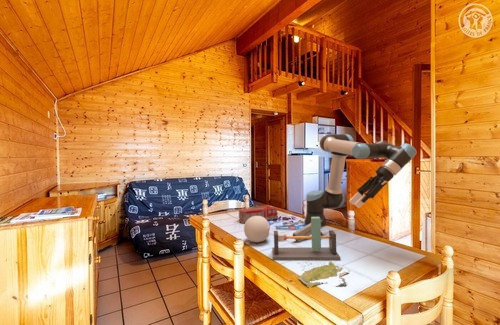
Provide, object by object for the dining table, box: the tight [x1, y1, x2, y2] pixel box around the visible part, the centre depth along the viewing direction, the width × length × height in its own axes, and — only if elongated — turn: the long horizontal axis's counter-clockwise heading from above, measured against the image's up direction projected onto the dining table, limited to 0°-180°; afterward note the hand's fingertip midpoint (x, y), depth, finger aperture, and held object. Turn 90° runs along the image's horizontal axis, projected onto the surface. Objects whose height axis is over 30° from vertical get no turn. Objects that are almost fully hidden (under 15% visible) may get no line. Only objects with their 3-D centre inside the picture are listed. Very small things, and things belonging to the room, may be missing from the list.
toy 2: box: [243, 216, 271, 243], centre depth 143 cm, size 15×15×15 cm
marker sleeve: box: [311, 217, 322, 250], centre depth 122 cm, size 4×3×16 cm
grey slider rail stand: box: [271, 229, 341, 261], centre depth 122 cm, size 32×12×12 cm, turn 85°
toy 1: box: [238, 205, 279, 224], centre depth 189 cm, size 10×30×10 cm, turn 108°
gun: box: [292, 219, 325, 243], centre depth 146 cm, size 2×25×10 cm, turn 121°
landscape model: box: [297, 261, 351, 288], centre depth 99 cm, size 24×15×2 cm, turn 123°
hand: (353, 204), depth 120 cm, fingers open, 7 cm apart
